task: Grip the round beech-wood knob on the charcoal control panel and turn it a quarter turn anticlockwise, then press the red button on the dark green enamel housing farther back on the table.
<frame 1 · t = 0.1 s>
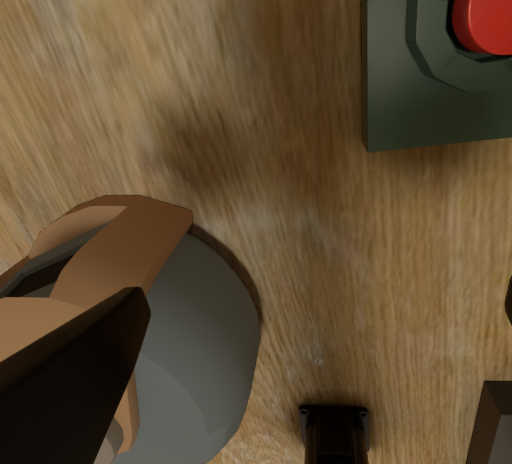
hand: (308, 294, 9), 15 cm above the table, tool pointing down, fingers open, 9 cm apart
housing: (465, 10, 17), on the table
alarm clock: (152, 301, 30), on the table
button: (510, 1, 13), point 4 cm above the table, slide at 0.1 cm
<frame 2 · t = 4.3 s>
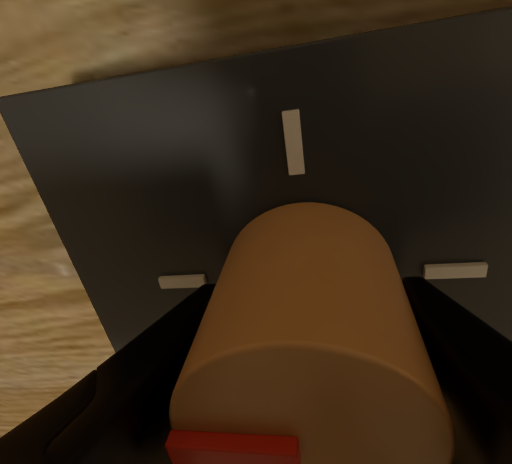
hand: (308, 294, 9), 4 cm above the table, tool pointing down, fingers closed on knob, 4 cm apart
knob: (305, 343, 7), point 5 cm above the table, hinge at 0.0°, touching gripper
panel: (309, 223, 12), on the table
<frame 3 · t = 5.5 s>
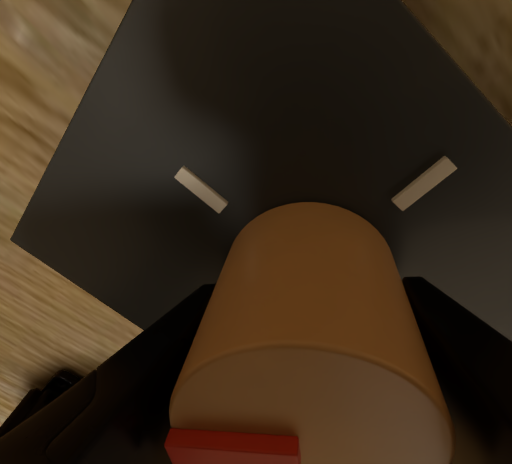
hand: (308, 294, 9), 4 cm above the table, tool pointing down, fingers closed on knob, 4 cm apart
knob: (305, 343, 7), point 5 cm above the table, hinge at 48.2°, touching gripper
panel: (309, 223, 12), on the table
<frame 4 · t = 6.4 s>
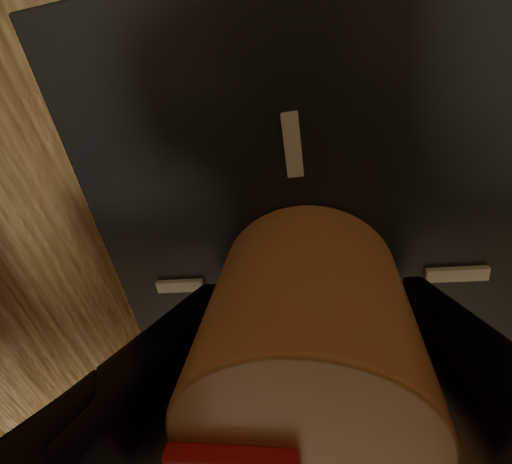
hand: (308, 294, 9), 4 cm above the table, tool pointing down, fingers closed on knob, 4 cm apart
knob: (305, 350, 7), point 5 cm above the table, hinge at 90.0°, touching gripper
panel: (308, 226, 12), on the table
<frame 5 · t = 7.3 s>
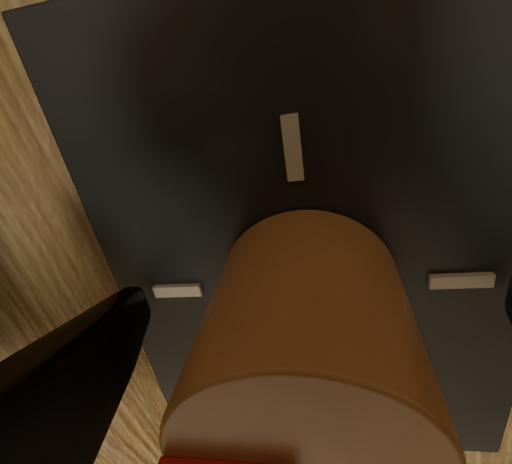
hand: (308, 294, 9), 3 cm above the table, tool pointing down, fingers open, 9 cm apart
knob: (305, 359, 7), point 5 cm above the table, hinge at 90.0°
panel: (309, 229, 12), on the table
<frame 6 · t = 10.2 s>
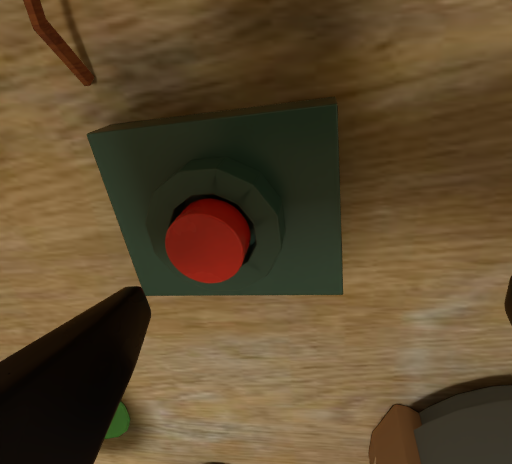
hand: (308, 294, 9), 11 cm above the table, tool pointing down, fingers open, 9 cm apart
housing: (231, 202, 20), on the table
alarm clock: (506, 457, 26), on the table
cup: (86, 405, 33), on the table
button: (209, 241, 16), point 4 cm above the table, slide at 0.1 cm
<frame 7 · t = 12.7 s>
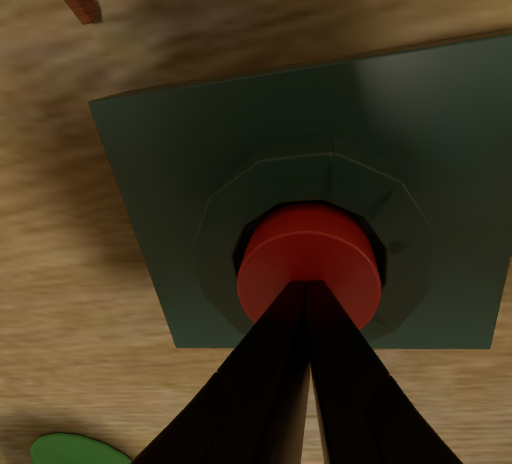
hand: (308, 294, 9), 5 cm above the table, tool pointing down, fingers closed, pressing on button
housing: (309, 209, 13), on the table
button: (307, 274, 9), point 4 cm above the table, slide at -0.2 cm, touching gripper
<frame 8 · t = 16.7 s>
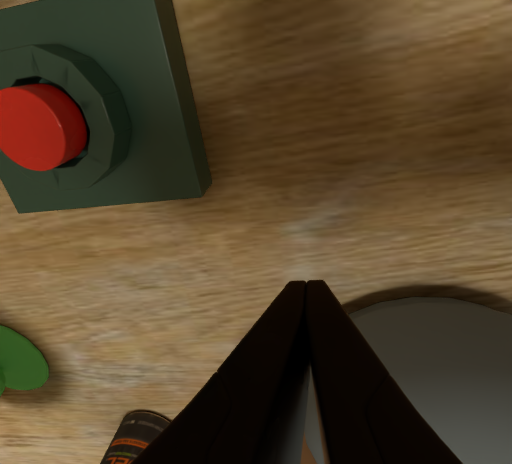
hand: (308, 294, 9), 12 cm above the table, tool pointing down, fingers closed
pill bottle: (152, 426, 35), on the table
housing: (94, 110, 20), on the table
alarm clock: (408, 383, 27), on the table
cup: (5, 354, 33), on the table
button: (39, 127, 16), point 4 cm above the table, slide at 0.1 cm
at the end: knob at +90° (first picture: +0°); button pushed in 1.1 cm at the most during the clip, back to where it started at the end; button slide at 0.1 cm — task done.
